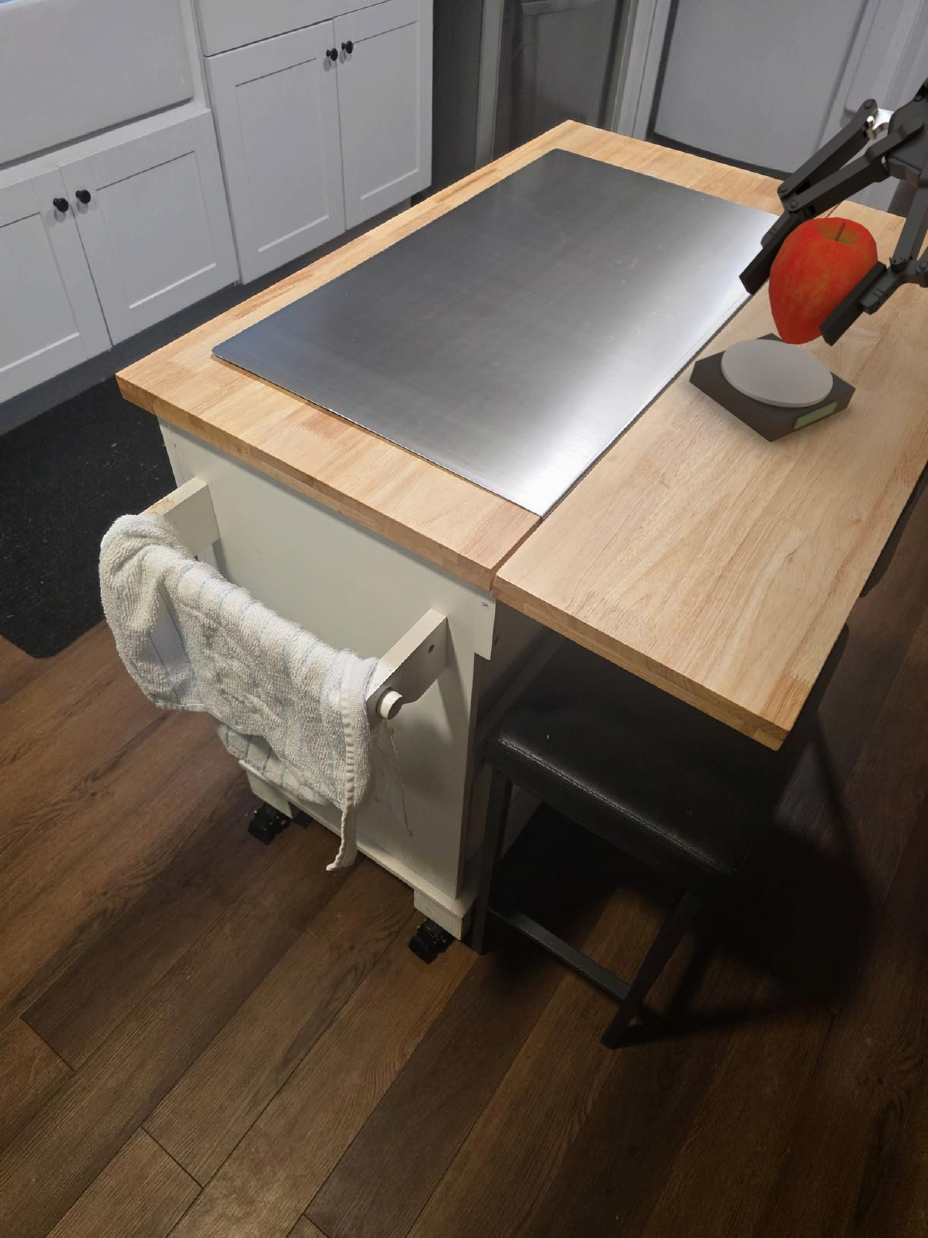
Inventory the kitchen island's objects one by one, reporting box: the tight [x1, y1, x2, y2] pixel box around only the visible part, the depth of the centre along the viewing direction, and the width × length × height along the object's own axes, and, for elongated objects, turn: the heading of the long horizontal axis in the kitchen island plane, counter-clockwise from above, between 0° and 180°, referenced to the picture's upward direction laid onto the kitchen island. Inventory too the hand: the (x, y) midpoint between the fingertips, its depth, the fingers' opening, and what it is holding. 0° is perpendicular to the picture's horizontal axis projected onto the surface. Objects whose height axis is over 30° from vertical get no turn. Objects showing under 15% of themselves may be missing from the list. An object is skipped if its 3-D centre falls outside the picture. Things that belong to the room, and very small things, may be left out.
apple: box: [767, 216, 879, 346], centre depth 74 cm, size 9×8×11 cm
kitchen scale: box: [689, 332, 857, 443], centre depth 93 cm, size 12×12×3 cm
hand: (784, 310), depth 74 cm, fingers closed on apple, 8 cm apart
